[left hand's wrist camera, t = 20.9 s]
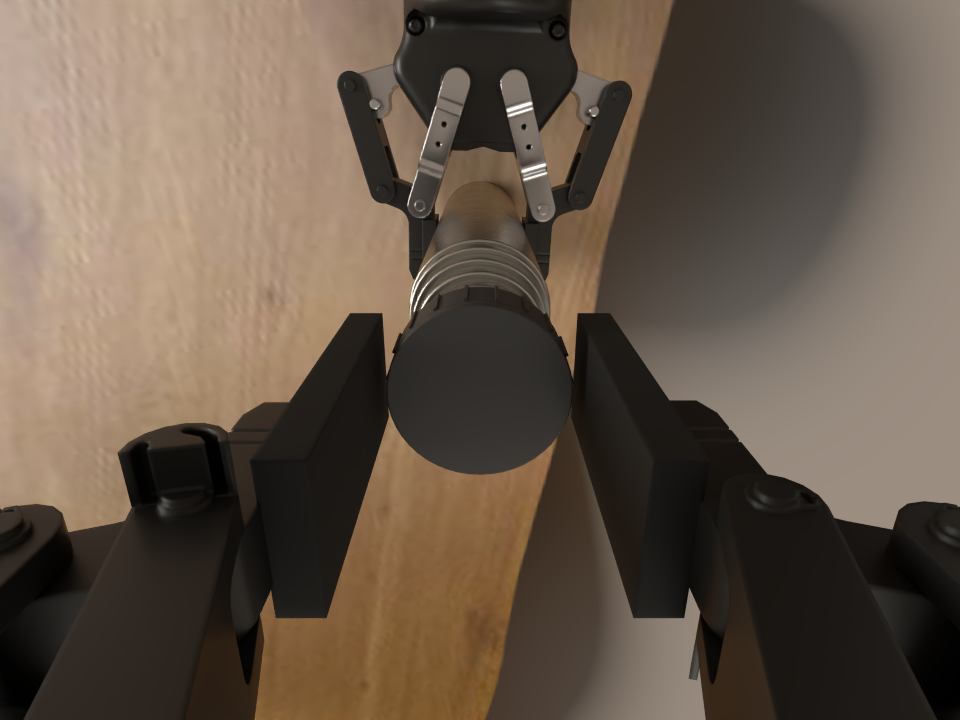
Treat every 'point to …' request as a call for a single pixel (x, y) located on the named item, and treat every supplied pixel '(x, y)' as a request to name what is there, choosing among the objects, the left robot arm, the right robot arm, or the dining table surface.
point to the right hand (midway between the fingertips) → (478, 287)
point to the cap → (479, 381)
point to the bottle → (479, 250)
